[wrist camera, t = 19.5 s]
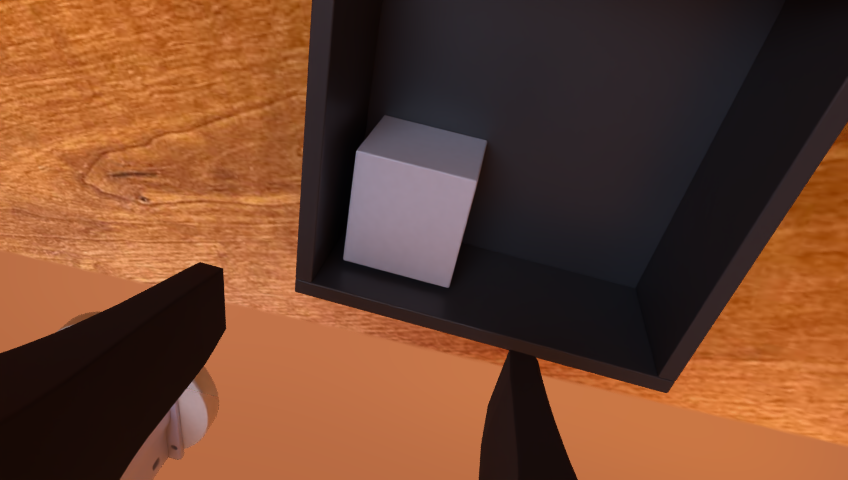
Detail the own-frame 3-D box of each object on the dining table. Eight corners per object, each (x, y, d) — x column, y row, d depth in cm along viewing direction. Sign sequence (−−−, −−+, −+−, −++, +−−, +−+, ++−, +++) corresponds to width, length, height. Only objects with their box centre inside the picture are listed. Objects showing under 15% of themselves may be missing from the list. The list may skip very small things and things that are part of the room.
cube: (461, 237, 22) (448, 289, 19) (369, 213, 22) (342, 260, 19) (488, 140, 19) (478, 181, 16) (384, 114, 20) (355, 150, 17)
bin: (641, 295, 22) (667, 394, 18) (343, 216, 23) (294, 292, 18) (830, -56, 15) (959, -44, 10) (386, -153, 16) (321, -181, 11)
